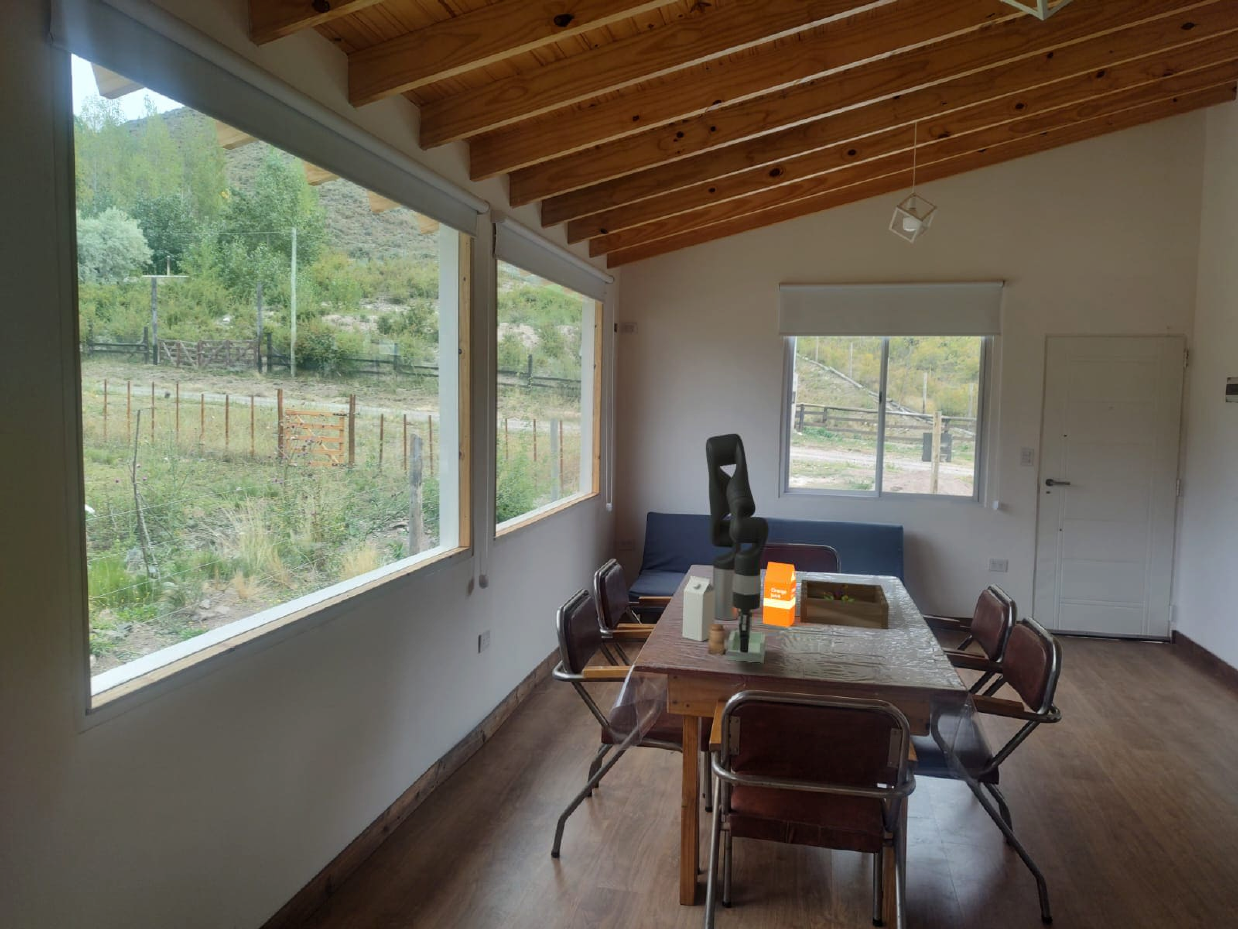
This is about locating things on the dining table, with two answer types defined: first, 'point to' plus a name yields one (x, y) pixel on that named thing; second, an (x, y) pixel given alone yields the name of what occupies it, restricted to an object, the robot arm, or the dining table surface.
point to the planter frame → (844, 605)
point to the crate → (754, 645)
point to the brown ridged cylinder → (716, 639)
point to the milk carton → (698, 608)
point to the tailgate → (744, 654)
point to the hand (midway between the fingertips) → (744, 651)
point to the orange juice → (779, 594)
